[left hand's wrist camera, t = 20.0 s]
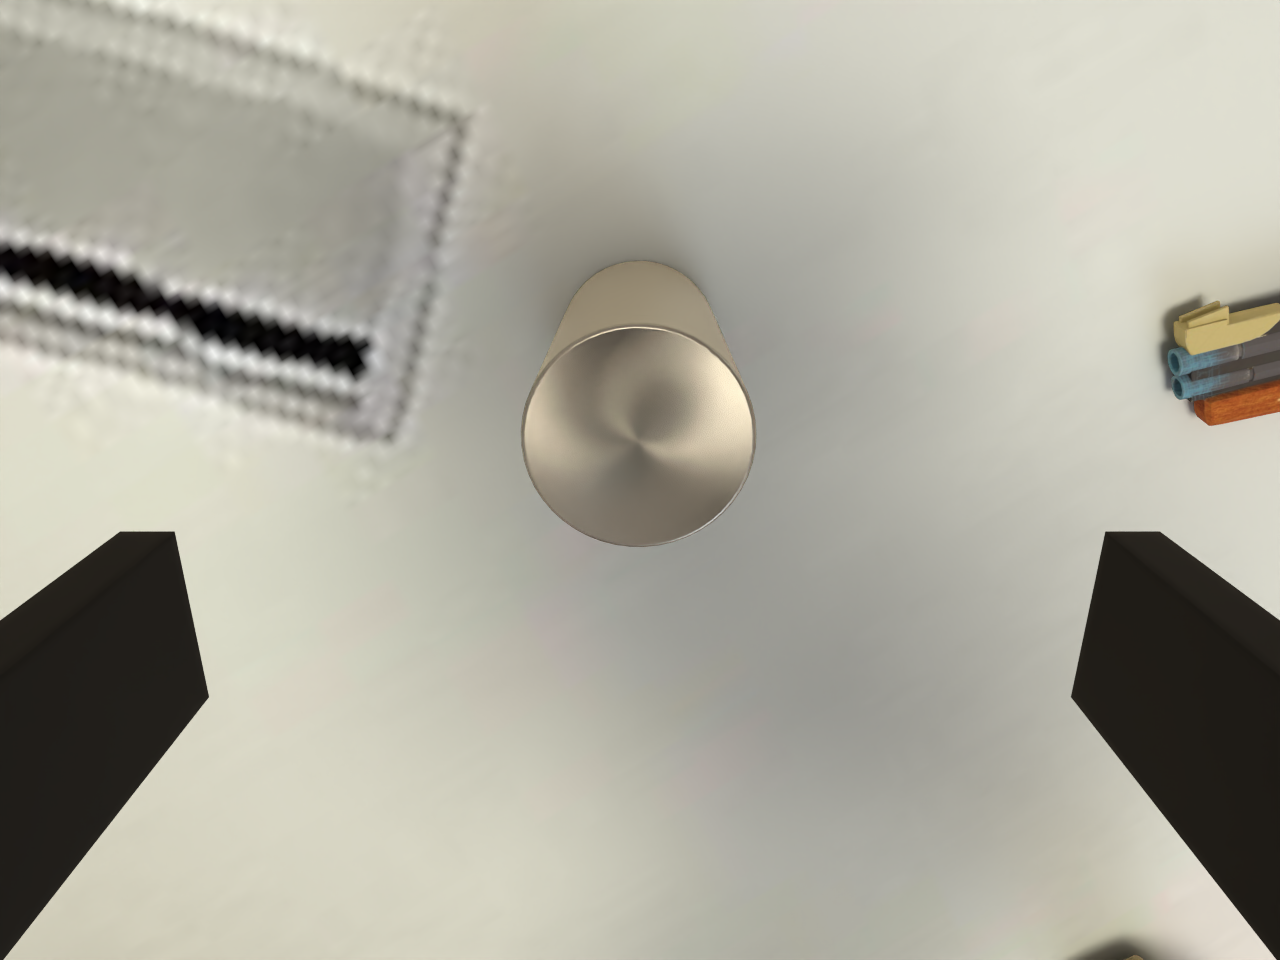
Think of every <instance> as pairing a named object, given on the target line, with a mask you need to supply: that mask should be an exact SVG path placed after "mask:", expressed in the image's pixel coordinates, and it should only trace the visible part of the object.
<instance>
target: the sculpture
mask: <svg viewBox="0 0 1280 960" xmlns="http://www.w3.org/2000/svg"><path fill="white" fill-rule="evenodd" d="M1124 960H1143V959H1142V958H1141V957H1140V956H1138V955H1133V956H1131V957H1129V958H1126V959H1124Z"/></svg>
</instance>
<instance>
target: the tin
mask: <svg viewBox="0 0 1280 960" xmlns="http://www.w3.org/2000/svg"><path fill="white" fill-rule="evenodd" d="M521 446H522V452H523V457H524V462H525V465H526V468H527V471H528V474H529V476H530V478H531V481H532V483H533V485H534V487H535V489H536V490H537V492H538V493H539V495H540V496H541V498H542V499H543V501H544V502H545V503H546V504H547V505H548V506H549V508H550V509H551V510H552V511H553V512H554V513H555V514H556V515H557V516H559V517H560V518H561V519H562V520H563V521H564V522H566V523H567V524H569V525H570V526H572V527H573V528H574V529H576V530H578V531H580V532H582V533H584V534H585V535H587V536H590V537H592V538H595V539H597V540H600V541H603V542H607V543H611V544H615V545H622V546H629V547H647V546H656V545H662V544H666V543H671V542H674V541H677V540H680V539H683V538H685V537H688V536H690V535H692V534H694V533H696V532H698V531H700V530H701V529H703V528H704V527H706V526H707V525H709V524H710V523H712V522H713V521H714V520H715V519H716V518H718V517H719V516H720V515H721V514H722V513H723V512H724V511H725V510H726V509H727V508H728V507H729V506H730V505H731V503H732V502H733V501H734V500H735V498H736V497H737V495H738V494H739V492H740V491H741V489H742V487H743V485H744V483H745V481H746V479H747V477H748V475H749V472H750V469H751V466H752V463H753V458H754V453H755V448H756V422H755V416H754V411H753V407H752V403H751V400H750V398H749V395H748V392H747V390H746V387H745V385H744V383H743V381H742V378H741V376H740V374H739V371H738V369H737V367H736V365H735V362H734V360H733V358H732V355H731V353H730V351H729V349H728V346H727V344H726V342H725V339H724V337H723V335H722V333H721V330H720V328H719V326H718V323H717V321H716V319H715V317H714V314H713V312H712V310H711V307H710V305H709V304H708V302H707V300H706V298H705V296H704V295H703V294H702V292H701V291H700V289H699V288H698V287H697V286H696V285H695V284H694V283H693V282H692V281H691V280H690V279H688V278H687V277H686V276H685V275H683V274H682V273H680V272H678V271H677V270H675V269H673V268H670V267H668V266H666V265H663V264H659V263H656V262H649V261H629V262H623V263H619V264H615V265H612V266H610V267H608V268H605V269H603V270H602V271H600V272H598V273H596V274H595V275H594V276H592V277H591V278H590V279H588V280H587V281H586V282H585V283H584V284H583V285H582V286H581V287H580V288H579V290H578V291H577V292H576V294H575V295H574V297H573V298H572V300H571V302H570V304H569V306H568V308H567V310H566V312H565V315H564V317H563V319H562V321H561V323H560V326H559V328H558V330H557V332H556V335H555V337H554V339H553V341H552V344H551V346H550V348H549V350H548V352H547V355H546V357H545V359H544V361H543V364H542V366H541V368H540V370H539V373H538V375H537V377H536V379H535V381H534V384H533V386H532V388H531V391H530V393H529V396H528V398H527V401H526V404H525V408H524V412H523V416H522V426H521Z"/></svg>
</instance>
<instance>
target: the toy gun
mask: <svg viewBox="0 0 1280 960" xmlns="http://www.w3.org/2000/svg"><path fill="white" fill-rule="evenodd" d="M1174 337H1175V341H1176V343H1177V344H1178V346H1179V347H1178V348H1174V349H1170V350H1169V352H1168V357H1167V358H1168V365H1169V367H1170V369H1171V372H1172V373H1173V374H1174V376H1173V377H1172V379H1171V384H1172V390H1173V392H1174V394H1175V396H1176V397H1177V398H1178V399H1180V400H1181V399H1186V398H1187V399H1188V400H1189V401H1190V402H1193V401H1194V411H1195V413H1196V415H1197V416H1198V417H1199V418H1200V419H1201V420H1203V421H1204V422H1205V423H1206V424H1208V425H1209V426H1212V425H1218V424H1224V423H1229V422H1233V421H1238V420H1243V419H1248V418H1252V417H1257V416H1262V415H1266V414H1271V413H1276V412H1280V303H1274V304H1269V305H1264V306H1260V307H1255V308H1251V309H1247V310H1243V311H1238V312H1234V313H1230V314H1229V307H1228V306H1227V305H1226V306H1224V307H1221V308H1220V302H1219V301H1216V302H1213V303H1211V304H1208V305H1206V306H1203V307H1201V308H1198V309H1196V310H1193V311H1191V312H1189V313H1186V314H1184V315H1181V316H1179V321H1176V322H1174Z"/></svg>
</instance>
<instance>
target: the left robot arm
mask: <svg viewBox="0 0 1280 960" xmlns="http://www.w3.org/2000/svg"><path fill="white" fill-rule="evenodd" d="M208 698H209V695H208V690H207V685H206V680H205V676H204V671H203V666H202V661H201V656H200V652H199V647H198V642H197V637H196V632H195V628H194V623H193V618H192V613H191V608H190V604H189V599H188V594H187V589H186V584H185V580H184V575H183V570H182V565H181V560H180V556H179V551H178V546H177V541H176V536H175V532H119V533H118V534H116V535H115V536H114V537H112V538H111V539H110V540H108V541H107V542H106V543H104V544H103V545H102V546H100V547H99V548H97V549H96V550H95V551H93V552H92V553H91V554H89V555H88V556H87V557H85V558H84V559H83V560H81V561H80V562H79V563H77V564H76V565H75V566H73V567H72V568H70V569H69V570H68V571H66V572H65V573H64V574H62V575H61V576H60V577H58V578H57V579H56V580H54V581H53V582H52V583H50V584H49V585H48V586H46V587H45V588H43V589H42V590H41V591H39V592H38V593H37V594H35V595H34V596H33V597H31V598H30V599H29V600H27V601H26V602H25V603H23V604H22V605H21V606H19V607H18V608H17V609H15V610H14V611H12V612H11V613H10V614H8V615H7V616H6V617H4V618H3V619H2V620H0V960H3V959H4V958H5V957H6V956H7V954H8V953H9V952H10V951H11V949H12V948H13V947H14V945H15V944H16V943H17V942H18V940H19V939H20V938H21V936H22V935H23V934H24V933H25V931H26V930H27V929H28V928H29V926H30V925H31V924H32V922H33V921H34V920H35V919H36V917H37V916H38V915H39V913H40V912H41V911H42V910H43V908H44V907H45V906H46V905H47V903H48V902H49V901H50V899H51V898H52V897H53V896H54V894H55V893H56V892H57V890H58V889H59V888H60V887H61V885H62V884H63V883H64V882H65V880H66V879H67V878H68V876H69V875H70V874H71V873H72V871H73V870H74V869H75V867H76V866H77V865H78V864H79V862H80V861H81V860H82V859H83V857H84V856H85V855H86V853H87V852H88V851H89V850H90V848H91V847H92V846H93V844H94V843H95V842H96V841H97V839H98V838H99V837H100V836H101V834H102V833H103V832H104V830H105V829H106V828H107V827H108V825H109V824H110V823H111V821H112V820H113V819H114V818H115V816H116V815H117V814H118V813H119V811H120V810H121V809H122V807H123V806H124V805H125V804H126V802H127V801H128V800H129V798H130V797H131V796H132V795H133V793H134V792H135V791H136V790H137V788H138V787H139V786H140V784H141V783H142V782H143V781H144V779H145V778H146V777H147V775H148V774H149V773H150V772H151V770H152V769H153V768H154V767H155V765H156V764H157V763H158V761H159V760H160V759H161V758H162V756H163V755H164V754H165V752H166V751H167V750H168V749H169V747H170V746H171V745H172V744H173V742H174V741H175V740H176V738H177V737H178V736H179V735H180V733H181V732H182V731H183V729H184V728H185V727H186V726H187V724H188V723H189V722H190V721H191V719H192V718H193V717H194V715H195V714H196V713H197V712H198V710H199V709H200V708H201V707H202V705H203V704H204V703H205V701H206V700H207V699H208ZM1071 698H1072V699H1073V700H1074V701H1075V703H1076V704H1077V705H1078V707H1079V708H1080V709H1081V710H1082V712H1083V713H1084V714H1085V715H1086V717H1087V718H1088V719H1089V721H1090V722H1091V723H1092V724H1093V726H1094V727H1095V728H1096V730H1097V731H1098V732H1099V733H1100V735H1101V736H1102V737H1103V738H1104V740H1105V741H1106V742H1107V744H1108V745H1109V746H1110V747H1111V749H1112V750H1113V751H1114V752H1115V754H1116V755H1117V756H1118V758H1119V759H1120V760H1121V761H1122V763H1123V764H1124V765H1125V767H1126V768H1127V769H1128V770H1129V772H1130V773H1131V774H1132V775H1133V777H1134V778H1135V779H1136V781H1137V782H1138V783H1139V784H1140V786H1141V787H1142V788H1143V790H1144V791H1145V792H1146V793H1147V795H1148V796H1149V797H1150V798H1151V800H1152V801H1153V802H1154V804H1155V805H1156V806H1157V807H1158V809H1159V810H1160V811H1161V813H1162V814H1163V815H1164V816H1165V818H1166V819H1167V820H1168V821H1169V823H1170V824H1171V825H1172V827H1173V828H1174V829H1175V830H1176V832H1177V833H1178V834H1179V836H1180V837H1181V838H1182V839H1183V841H1184V842H1185V843H1186V844H1187V846H1188V847H1189V848H1190V850H1191V851H1192V852H1193V853H1194V855H1195V856H1196V857H1197V859H1198V860H1199V861H1200V862H1201V864H1202V865H1203V866H1204V867H1205V869H1206V870H1207V871H1208V873H1209V874H1210V875H1211V876H1212V878H1213V879H1214V880H1215V882H1216V883H1217V884H1218V885H1219V887H1220V888H1221V889H1222V890H1223V892H1224V893H1225V894H1226V896H1227V897H1228V898H1229V899H1230V901H1231V902H1232V903H1233V905H1234V906H1235V907H1236V908H1237V910H1238V911H1239V912H1240V913H1241V915H1242V916H1243V917H1244V919H1245V920H1246V921H1247V922H1248V924H1249V925H1250V926H1251V928H1252V929H1253V930H1254V931H1255V933H1256V934H1257V935H1258V936H1259V938H1260V939H1261V940H1262V942H1263V943H1264V944H1265V945H1266V947H1267V948H1268V949H1269V951H1270V952H1271V953H1272V954H1273V956H1274V957H1275V958H1276V959H1277V960H1280V620H1278V619H1277V618H1276V617H1274V616H1273V615H1272V614H1270V613H1269V612H1268V611H1266V610H1265V609H1263V608H1262V607H1261V606H1259V605H1258V604H1257V603H1255V602H1254V601H1253V600H1251V599H1250V598H1249V597H1247V596H1246V595H1245V594H1243V593H1242V592H1241V591H1239V590H1238V589H1237V588H1235V587H1234V586H1232V585H1231V584H1230V583H1228V582H1227V581H1226V580H1224V579H1223V578H1222V577H1220V576H1219V575H1218V574H1216V573H1215V572H1214V571H1212V570H1211V569H1210V568H1208V567H1207V566H1205V565H1204V564H1203V563H1201V562H1200V561H1199V560H1197V559H1196V558H1195V557H1193V556H1192V555H1191V554H1189V553H1188V552H1187V551H1185V550H1184V549H1183V548H1181V547H1180V546H1178V545H1177V544H1176V543H1174V542H1173V541H1172V540H1170V539H1169V538H1168V537H1166V536H1165V535H1164V534H1162V533H1161V532H1105V536H1104V541H1103V546H1102V551H1101V556H1100V560H1099V565H1098V570H1097V575H1096V580H1095V584H1094V589H1093V594H1092V599H1091V604H1090V608H1089V613H1088V618H1087V623H1086V628H1085V632H1084V637H1083V642H1082V647H1081V652H1080V656H1079V661H1078V666H1077V671H1076V676H1075V680H1074V685H1073V690H1072V695H1071Z"/></svg>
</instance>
